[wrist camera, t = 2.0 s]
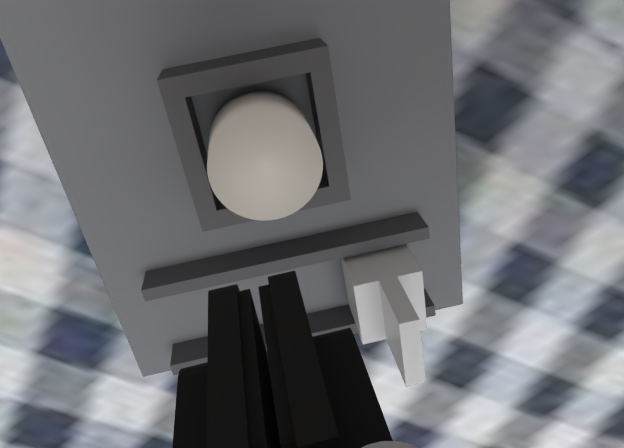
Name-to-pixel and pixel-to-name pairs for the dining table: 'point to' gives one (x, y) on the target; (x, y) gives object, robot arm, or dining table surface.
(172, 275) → the control panel
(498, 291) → the dining table surface
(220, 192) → the push button
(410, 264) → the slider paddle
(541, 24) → the dining table surface
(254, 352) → the robot arm
